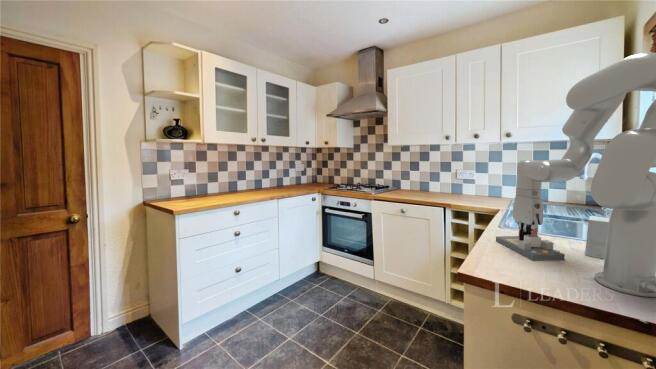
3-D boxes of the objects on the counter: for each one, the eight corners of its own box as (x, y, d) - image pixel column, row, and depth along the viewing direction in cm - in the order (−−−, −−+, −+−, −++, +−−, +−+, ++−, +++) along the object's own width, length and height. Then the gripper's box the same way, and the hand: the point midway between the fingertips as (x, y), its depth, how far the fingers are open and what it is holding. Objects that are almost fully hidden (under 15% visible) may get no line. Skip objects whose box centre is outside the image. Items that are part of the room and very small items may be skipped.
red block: (536, 239, 114) (538, 225, 113) (526, 240, 114) (527, 226, 113) (528, 236, 118) (529, 223, 118) (518, 236, 118) (519, 223, 118)
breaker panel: (564, 259, 93) (565, 247, 93) (532, 260, 93) (533, 247, 92) (522, 240, 113) (522, 230, 112) (495, 241, 113) (496, 230, 112)
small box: (610, 260, 92) (614, 222, 91) (584, 255, 97) (588, 219, 95) (610, 253, 98) (614, 218, 96) (586, 249, 102) (589, 215, 101)
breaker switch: (540, 246, 99) (541, 236, 98) (529, 247, 99) (530, 236, 98) (534, 244, 102) (534, 233, 101) (523, 244, 102) (524, 233, 101)
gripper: (554, 196, 94) (550, 247, 97) (523, 190, 109) (520, 234, 112) (533, 196, 94) (529, 247, 97) (504, 190, 109) (502, 235, 111)
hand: (524, 240), depth 104 cm, fingers closed
